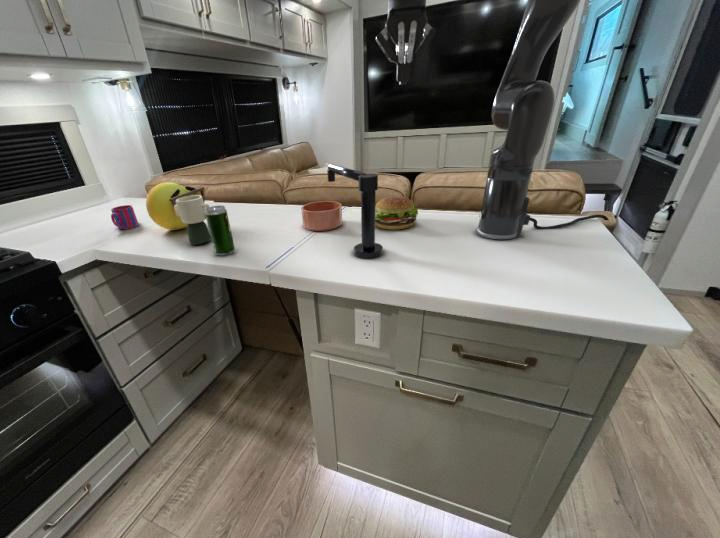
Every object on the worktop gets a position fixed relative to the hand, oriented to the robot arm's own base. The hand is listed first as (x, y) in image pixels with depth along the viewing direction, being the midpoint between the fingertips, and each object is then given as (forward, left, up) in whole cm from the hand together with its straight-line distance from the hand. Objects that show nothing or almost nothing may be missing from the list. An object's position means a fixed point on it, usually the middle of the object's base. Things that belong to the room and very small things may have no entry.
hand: (403, 84), depth 74 cm
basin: (+21, -11, -35) cm, 42 cm away
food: (0, -8, -35) cm, 36 cm away
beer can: (+47, +7, -35) cm, 59 cm away
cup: (+92, -22, -35) cm, 101 cm away
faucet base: (+9, +13, -35) cm, 38 cm away
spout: (+13, +4, -21) cm, 25 cm away
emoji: (+70, -17, -35) cm, 80 cm away
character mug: (+57, -2, -35) cm, 67 cm away
